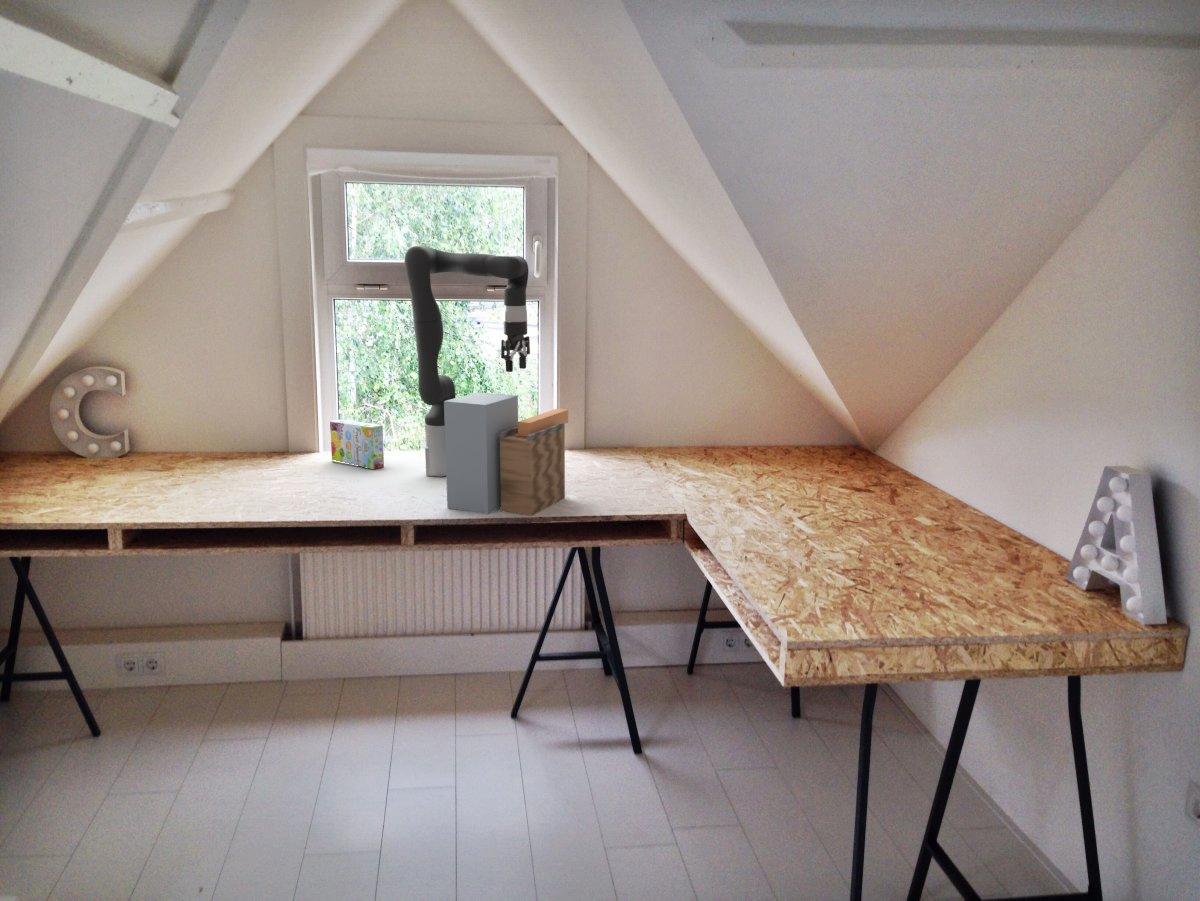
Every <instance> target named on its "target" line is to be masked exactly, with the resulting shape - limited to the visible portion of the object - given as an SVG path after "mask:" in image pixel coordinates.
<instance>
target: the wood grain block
mask: <svg viewBox="0 0 1200 901" xmlns="http://www.w3.org/2000/svg"><path fill="white" fill-rule="evenodd" d="M565 424H566V423H560V424H557V425H554V426H551V427H549V428H546V429H543V430H541V431H538V432H535V433H532V434H530V435H527V436H519V435H518V426H517V427H514V428H512V429H509V430H506V431H503V432H500V475H501V508H500V510H501V511H500V512H503V513H510V514H516V515H524V516H527V517H528V516H529V517H530V516H531V517H532V516H534V515H535V514H538V513H540V512H541V511H543V510H545V509H548V508H549V507H551V506H553V505H555V504H557V503H558V502H560V501H562V500H564V499H565V498H566V489H565V488H566V479H565V478H566V476H565V474H566V473H565V470H566V461H565V458H566V457H565V454H566V452H565V451H566V450H565V449H566V446H565V445H566V442H565V435H566V434H565V430H566V429H565V427H566V426H565Z"/></svg>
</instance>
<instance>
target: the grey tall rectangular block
mask: <svg viewBox="0 0 1200 901" xmlns="http://www.w3.org/2000/svg"><path fill="white" fill-rule="evenodd" d="M444 420H445V450H446V476H445V478H446V481H445V482H446V504H447V507H446V508H447V509H449V508H451V509H450V510H456V509H459V510H458V511H463V510H464V512H472V513H476V514H477V513H478V514H485V515H489V514H491V513H494V512H496V511H498V510H501V475H500V432H503V431H506V430H509V429H512V428H514V427H517V426H518V422H519V395H517V394H516V395H514V394H503V393H502V394H501V393H492V392H491V393H490V392H479V391H477V392H474V393H473V392H472V393H469V394H467V395H462V396H458V397H455V398H454V399H450V400H446V401H444Z"/></svg>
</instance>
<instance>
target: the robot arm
mask: <svg viewBox="0 0 1200 901" xmlns="http://www.w3.org/2000/svg"><path fill="white" fill-rule="evenodd" d="M403 263H404V268H405V273H406V276H407V277H406V278H407V281H408V286H409V292H410V300H411V302H410V303H411V308H412V320H413V329H414V336H415V343H416V352H417V355H416V356H417V366H418V367H417V369H418V370H417V371H418V373H417V374H418V378H417V379H418V382H417V383H418V393H419V396H420V398H421V401H423V403H425V405H428V406H431V408H430V409H429V411H428V412H427V413H426V414H425V416H424V429H425V430H424V431H425V433H424V435H425V448H424V456H425V476H429V477H430V476H431V477H446V450H445V420H444V401H446V400H450V399H454V398H456V387H455V383H454V381H453V379H452V378H451V377H450V376H449V375H446V374H439V368H438V367H439V366H438V365H439V364H438V362H439V361H438V360H439V355H440V353H441V352H440V351H441V347H442V346H443V345H442V344H443V340H444V325H443V318H442V317H443V316H442V312H441V310H440V307H439V305H438V303H437V301H436V298H435V295H434V293H433V290H432V283H431V280H432V279H431V274H439V273H455V274H463V275H466V276H467V275H468V276H475V277H476V276H477V277H486V278H487V277H488V278H491V277H492V278H493V277H494V278H500V279H506V280H507V285H506V287H505V288H504V291H503V334H504V335H505V336H506V337H507V338H506V339H501V346H500V348H501V350H500V351H501V352H500V354H501V356H500V357H501V358H500V359H504V361H505V372H507V373H512V372H513V370H514V364H513V363H514V360H513V359H514V356H515V355H517V354H518V356H519V357H518V361H519V362H518V363H519V364H518V368H520V369H521V370H524V369H526V368H527V357H528V355H530V354H531V347H530V346H531V345H530V340H531V339H530V336H528V335H527V334H528V311H527V293H526V292H527V286H528V282H529V280H528V279H529V263H528V261H527V260H526V259H525V258H524V257H523V256H520V255H515V256H514V255H513V256H512V255H511V256H510V255H508V256H507V255H495V254H490V253H489V254H487V253H478V252H477V253H474V252H473V253H470V252H469V253H468V252H467V253H461V252H449V251H443V250H440V249H436V248H432V247H429V246H426V245H423V246H422V245H414V246H412V247H409V248H408V249H407V251H406V252H405V255H404V261H403ZM526 335H527V336H526Z"/></svg>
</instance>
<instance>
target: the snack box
mask: <svg viewBox="0 0 1200 901" xmlns="http://www.w3.org/2000/svg"><path fill="white" fill-rule="evenodd" d="M329 428H330V429H329V431H330V446H331V461H332V460H336V461H340V462H345V463H349V464H354V465H358V466H362V467H367V468H366V469H368V468H372V469H371V470H377V469H376V468H378V469H381V468H380V467H383V468H384V467H385V462H384V461H385V459H384V458H385V457H384V454H385V453H384V428H383V425H382V424H376V423H371V422H369V423H368V422H363V421H362V422H361V421H355V420H348V419H335V420H330V421H329ZM362 467H361V468H362Z"/></svg>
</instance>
